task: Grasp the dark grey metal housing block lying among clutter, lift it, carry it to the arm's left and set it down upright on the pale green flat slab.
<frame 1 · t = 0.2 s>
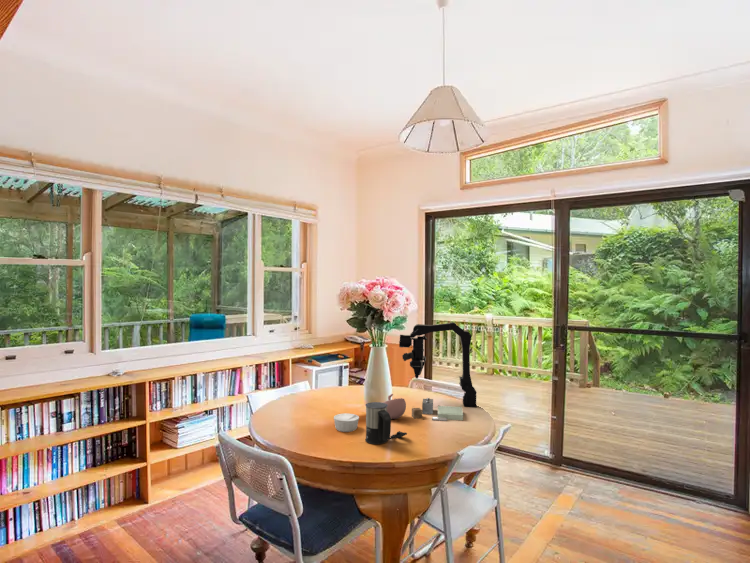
hand: (417, 376, 241), 14 cm above the table, fingers open, 9 cm apart
milk frother: (385, 440, 184), on the table
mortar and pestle: (393, 418, 214), on the table
ramekin: (346, 429, 198), on the table
walnut block: (416, 417, 216), on the table
steel pin: (439, 420, 212), on the table, tilted 20°
pale green flat slab: (449, 415, 220), on the table
housing: (427, 412, 225), on the table
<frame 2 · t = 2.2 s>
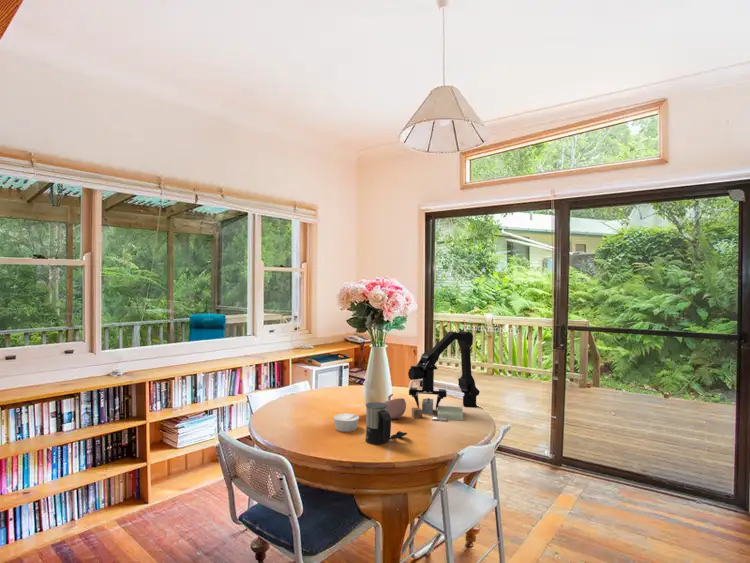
hand: (427, 409, 225), 1 cm above the table, fingers open, 8 cm apart
steel pin: (439, 420, 212), on the table, tilted 10°
everything else where it was.
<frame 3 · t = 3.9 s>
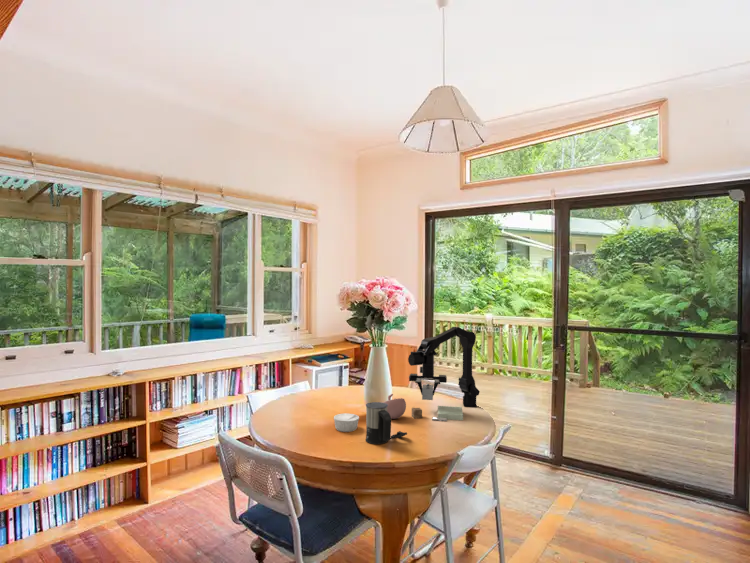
hand: (427, 395, 225), 8 cm above the table, fingers closed on housing, 5 cm apart
housing: (427, 397, 225), point 7 cm above the table, touching gripper
everything else where it was.
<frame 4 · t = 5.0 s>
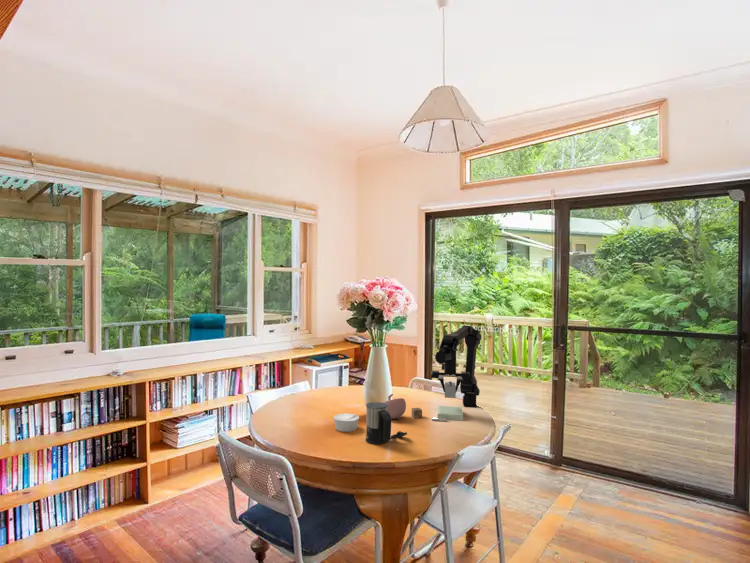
hand: (450, 392, 220), 11 cm above the table, fingers closed on housing, 5 cm apart
steel pin: (439, 420, 212), on the table, tilted 41°
housing: (450, 395, 220), point 10 cm above the table, touching gripper
everything else where it was.
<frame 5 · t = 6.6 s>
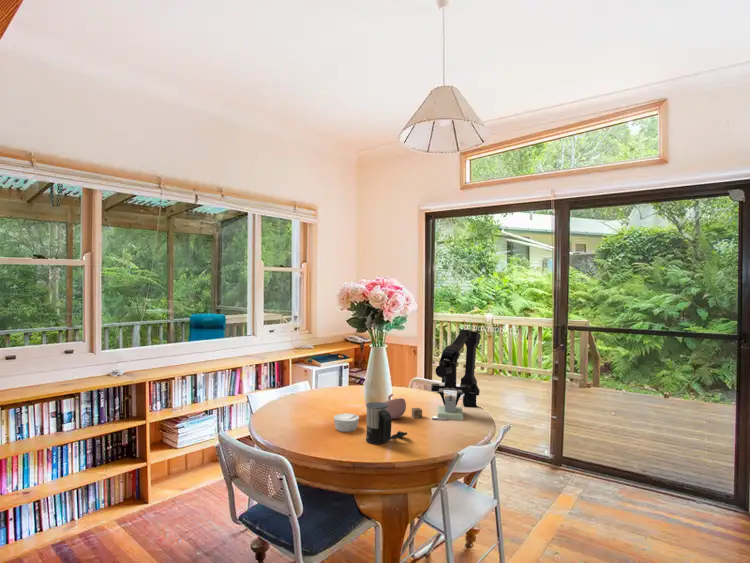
hand: (450, 405, 220), 5 cm above the table, fingers closed on housing, 5 cm apart
steel pin: (439, 418, 212), point 1 cm above the table, tilted 95°
housing: (450, 409, 220), point 3 cm above the table, touching gripper, pale green flat slab
everything else where it was.
when the fingers open (5 cm above the table, at t = 6.9 s): housing stays where it is, resting on pale green flat slab.
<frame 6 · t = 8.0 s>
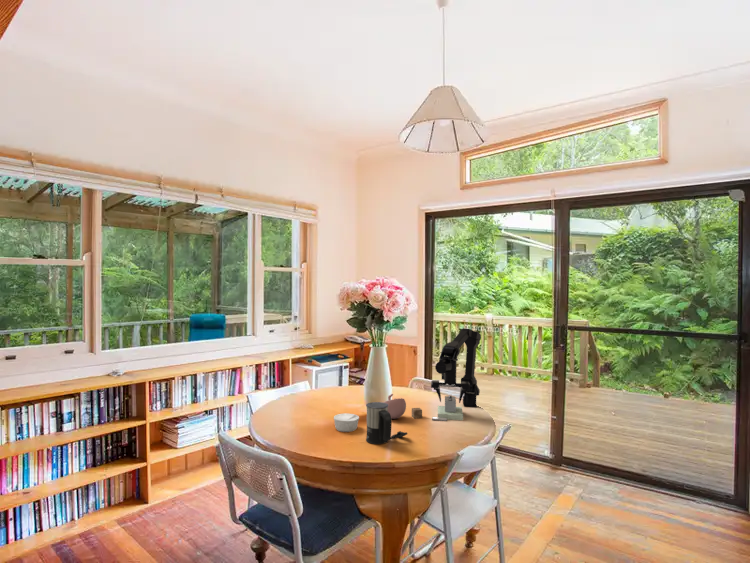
hand: (450, 402, 220), 6 cm above the table, fingers open, 9 cm apart
steel pin: (439, 420, 211), on the table, tilted 30°
housing: (450, 409, 220), point 3 cm above the table, touching pale green flat slab
everything else where it was.
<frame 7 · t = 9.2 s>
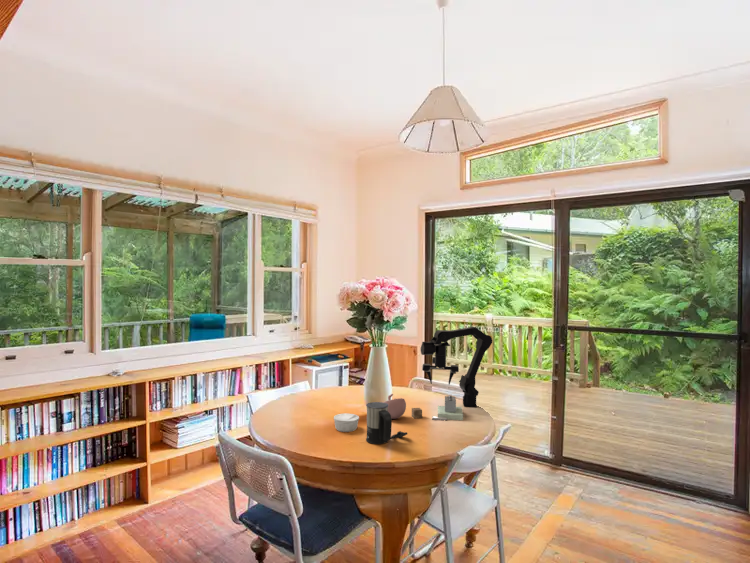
hand: (440, 384, 234), 12 cm above the table, fingers open, 9 cm apart
steel pin: (439, 419, 212), point 1 cm above the table, tilted 93°
everything else where it was.
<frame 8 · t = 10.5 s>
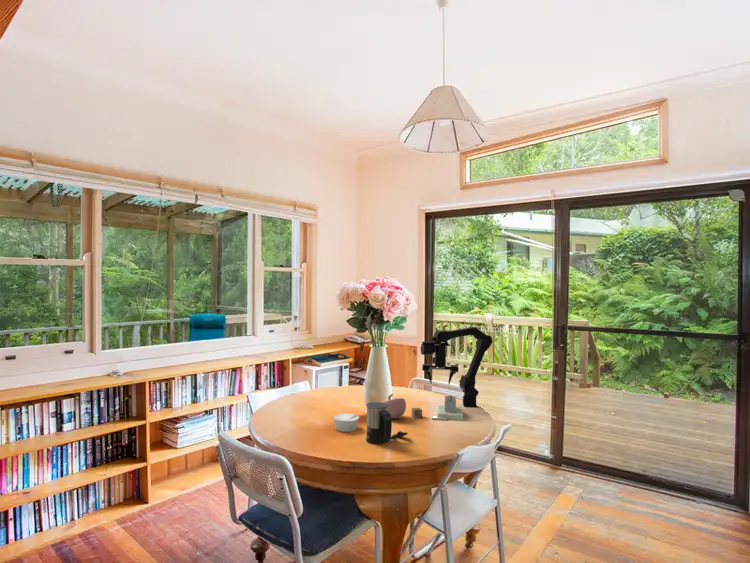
hand: (440, 384, 235), 12 cm above the table, fingers open, 9 cm apart
steel pin: (439, 418, 212), point 1 cm above the table, tilted 108°
everything else where it was.
at the end: housing inside the target area on the pale green flat slab (0.0 cm from its centre), point 2.7 cm above the pale green flat slab's base; housing tilted 0°; the gripper is holding nothing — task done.
